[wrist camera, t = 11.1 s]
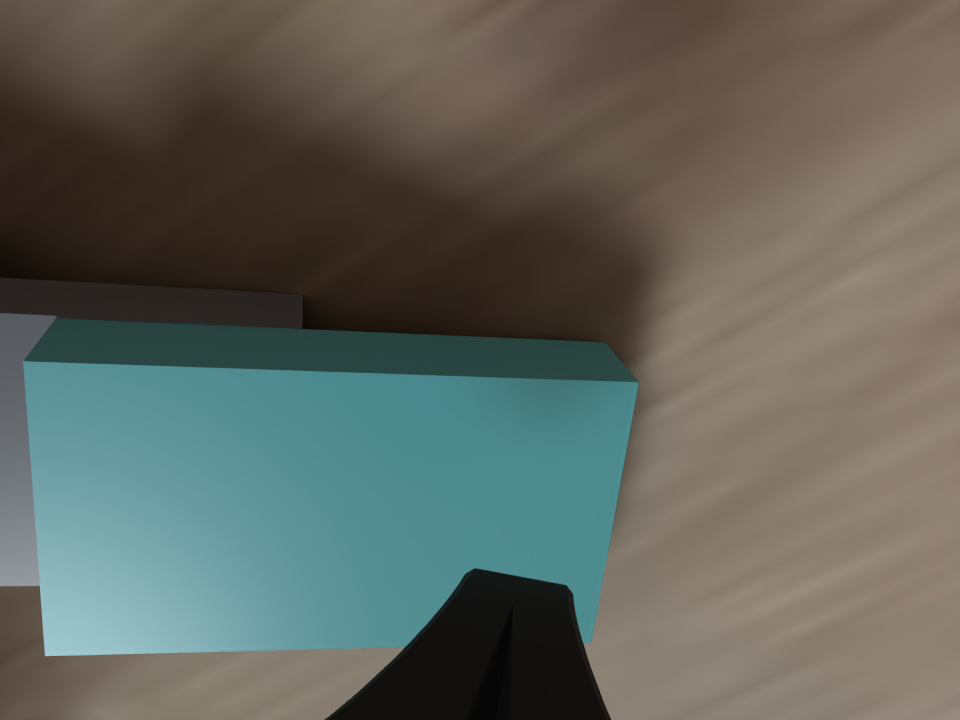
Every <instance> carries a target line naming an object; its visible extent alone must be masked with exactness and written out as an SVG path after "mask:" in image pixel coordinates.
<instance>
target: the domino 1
mask: <svg viewBox="0 0 960 720" xmlns="http://www.w3.org/2000/svg"><path fill="white" fill-rule="evenodd" d="M55 319H79V320H102V321H125V322H148V323H171V324H195V325H218V326H241V327H264V328H287V329H302V323H303V294H287V293H269V292H251V291H233V290H215V289H197V288H179V287H161V286H143V285H125V284H107V283H89V282H71V281H53V280H35V279H17V278H0V586H40V580H39V567H38V554H37V540H36V527H35V514H34V500H33V487H32V474H31V460H30V447H29V433H28V420H27V407H26V393H25V380H24V367H23V361H24V359H25V358H26V357H27V356H28V354H29V353H30V352H31V350H32V349H33V348H34V346H35V345H36V344H37V342H38V341H39V340H40V339H41V337H42V336H43V335H44V333H45V332H46V331H47V329H48V328H49V327H50V325H51V324H52V323H53V322H54V320H55Z"/></svg>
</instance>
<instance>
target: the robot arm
mask: <svg viewBox="0 0 960 720" xmlns="http://www.w3.org/2000/svg"><path fill="white" fill-rule="evenodd" d="M325 720H611V718H610V716H609V714H608V711H607V709H606V706H605V704H604V702H603V699H602V696H601V693H600V691H599V688H598V685H597V683H596V680H595V677H594V675H593V672H592V669H591V667H590V664H589V661H588V658H587V654H586V651H585V648H584V644H583V641H582V637H581V634H580V630H579V626H578V622H577V617H576V612H575V606H574V595H573V593H572V592H571V590H570V589H569V588H568V586H567V585H563V584H558V583H553V582H547V581H542V580H537V579H531V578H526V577H520V576H515V575H510V574H504V573H499V572H493V571H488V570H483V569H477V568H474V569H472V570H471V571H469V572H467V573H466V574H465V575H464V576H463V578H462V580H461V581H460V583H459V584H458V586H457V587H456V588H455V590H454V591H453V593H452V594H451V595H450V597H449V598H448V599H447V600H446V602H445V603H444V604H443V606H442V607H441V608H440V609H439V610H438V611H437V613H436V614H435V615H434V616H433V617H432V619H431V620H430V621H429V622H428V623H427V624H426V625H425V627H424V628H423V629H422V630H421V631H420V632H419V633H418V634H417V635H416V636H415V637H414V638H413V639H412V641H411V642H410V643H409V644H408V645H407V646H406V647H405V648H404V649H403V650H402V651H401V652H400V653H399V654H398V655H397V656H396V657H395V658H394V659H393V660H392V661H391V662H390V663H389V664H388V665H387V666H386V667H385V668H384V669H383V670H382V671H380V672H379V673H378V674H377V675H376V676H375V677H374V678H373V679H372V680H371V681H370V682H369V683H368V684H366V685H365V686H364V687H363V688H362V689H361V690H360V691H359V692H358V693H357V694H355V695H354V696H353V697H352V698H351V699H350V700H348V701H347V702H346V703H345V704H344V705H342V706H341V707H340V708H339V709H338V710H336V711H335V712H334V713H333V714H331V715H330V716H329V717H328V718H326V719H325Z"/></svg>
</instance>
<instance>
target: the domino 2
mask: <svg viewBox="0 0 960 720" xmlns="http://www.w3.org/2000/svg"><path fill="white" fill-rule="evenodd" d="M23 367H24V380H25V393H26V407H27V420H28V433H29V447H30V460H31V474H32V487H33V500H34V514H35V527H36V540H37V554H38V567H39V580H40V594H41V607H42V620H43V634H44V647H45V656H67V655H107V654H147V653H186V652H226V651H266V650H306V649H346V648H385V647H406V646H407V645H408V644H409V643H410V642H411V641H412V639H413V638H414V637H415V636H416V635H417V634H418V633H419V632H420V631H421V630H422V629H423V628H424V627H425V625H426V624H427V623H428V622H429V621H430V620H431V619H432V617H433V616H434V615H435V614H436V613H437V611H438V610H439V609H440V608H441V607H442V606H443V604H444V603H445V602H446V600H447V599H448V598H449V597H450V595H451V594H452V593H453V591H454V590H455V588H456V587H457V586H458V584H459V583H460V581H461V580H462V578H463V576H464V575H465V574H466V573H467V572H469V571H471V570H472V569H474V568H477V569H483V570H488V571H493V572H499V573H504V574H510V575H515V576H520V577H526V578H531V579H537V580H542V581H547V582H553V583H558V584H563V585H567V586H568V588H569V589H570V590H571V592H572V593H573V595H574V606H575V612H576V617H577V622H578V626H579V630H580V634H581V637H582V641H583V643H585V642H591V641H592V636H593V630H594V625H595V619H596V614H597V608H598V603H599V597H600V592H601V587H602V581H603V576H604V570H605V565H606V559H607V554H608V549H609V543H610V538H611V532H612V527H613V521H614V516H615V510H616V505H617V500H618V494H619V489H620V483H621V478H622V472H623V467H624V462H625V456H626V451H627V445H628V440H629V434H630V429H631V423H632V418H633V413H634V407H635V402H636V396H637V391H638V385H639V382H638V381H637V379H636V378H635V377H634V376H633V375H632V373H631V372H630V371H629V370H628V369H627V368H626V366H625V365H624V364H623V363H622V362H621V360H620V359H619V358H618V357H617V356H616V354H615V353H614V352H613V351H612V350H611V349H610V347H609V346H608V345H607V344H606V343H605V342H588V341H565V340H542V339H519V338H496V337H472V336H449V335H426V334H403V333H380V332H357V331H333V330H310V329H287V328H264V327H241V326H218V325H195V324H171V323H148V322H125V321H102V320H79V319H55V320H54V322H53V323H52V324H51V325H50V327H49V328H48V329H47V331H46V332H45V333H44V335H43V336H42V337H41V339H40V340H39V341H38V342H37V344H36V345H35V346H34V348H33V349H32V350H31V352H30V353H29V354H28V356H27V357H26V358H25V359H24V361H23Z"/></svg>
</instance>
